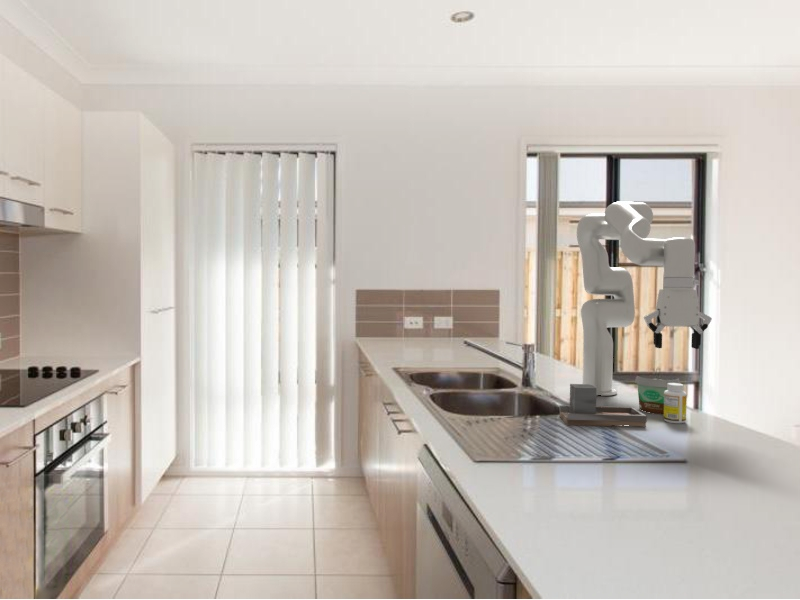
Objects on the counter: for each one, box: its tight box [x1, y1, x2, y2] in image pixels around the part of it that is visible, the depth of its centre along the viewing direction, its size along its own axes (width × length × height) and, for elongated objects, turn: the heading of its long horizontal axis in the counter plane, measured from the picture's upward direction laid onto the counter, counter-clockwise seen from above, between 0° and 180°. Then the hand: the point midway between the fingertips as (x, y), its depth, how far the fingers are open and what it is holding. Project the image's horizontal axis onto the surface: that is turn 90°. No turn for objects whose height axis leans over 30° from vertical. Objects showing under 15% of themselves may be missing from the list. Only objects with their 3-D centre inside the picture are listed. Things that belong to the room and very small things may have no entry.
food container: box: [634, 375, 681, 415], centre depth 173 cm, size 12×6×10 cm, turn 62°
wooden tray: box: [558, 383, 648, 428], centre depth 161 cm, size 11×20×10 cm, turn 87°
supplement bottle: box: [663, 383, 688, 425], centre depth 162 cm, size 6×6×10 cm
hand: (676, 348), depth 161 cm, fingers open, 9 cm apart
